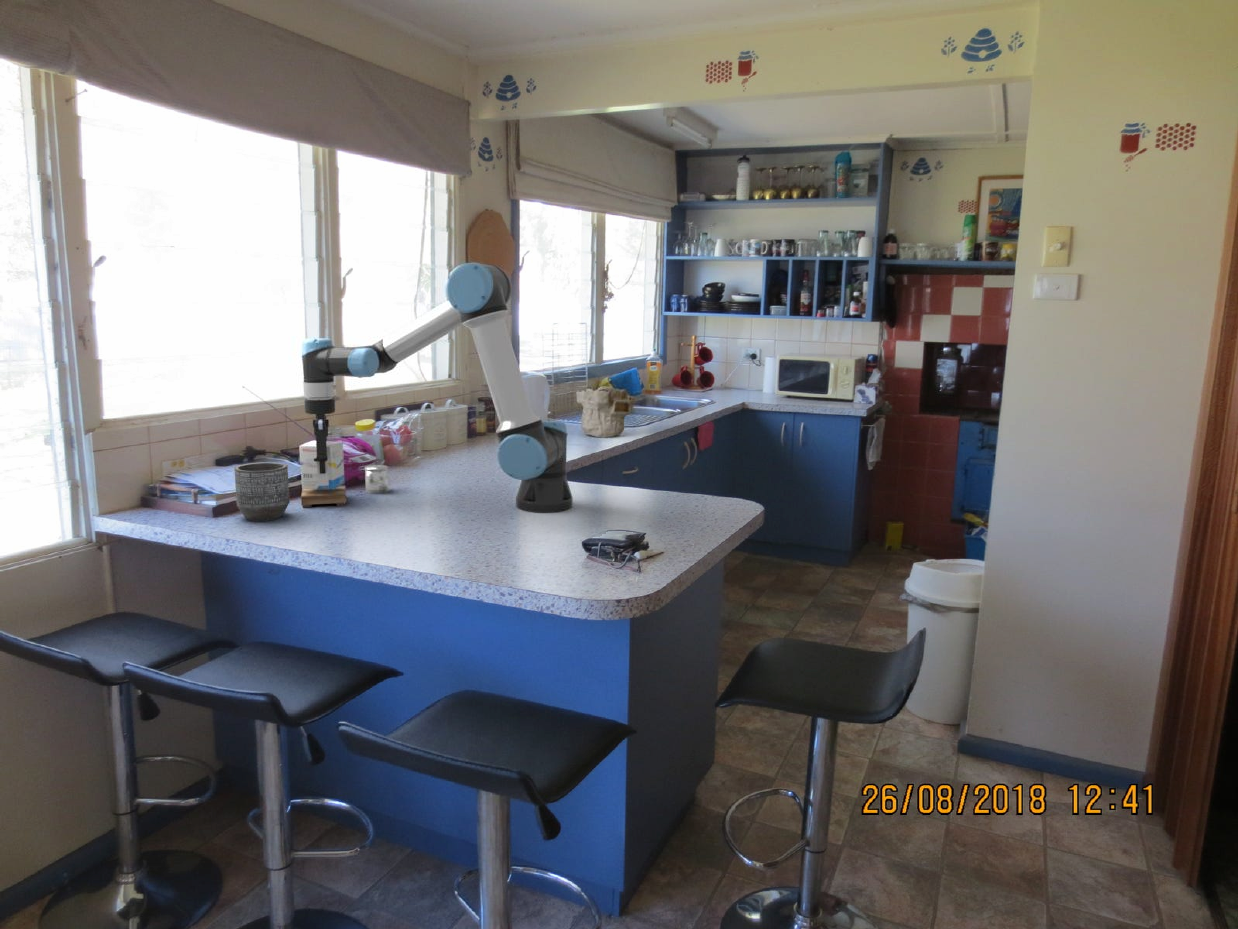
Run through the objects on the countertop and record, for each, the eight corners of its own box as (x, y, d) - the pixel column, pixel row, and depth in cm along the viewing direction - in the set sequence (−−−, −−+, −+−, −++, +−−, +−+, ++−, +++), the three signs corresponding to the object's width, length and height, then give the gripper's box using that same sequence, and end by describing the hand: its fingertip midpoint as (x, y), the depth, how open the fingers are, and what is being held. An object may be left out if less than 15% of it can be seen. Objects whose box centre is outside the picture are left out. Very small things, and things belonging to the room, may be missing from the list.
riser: (346, 505, 227) (345, 494, 226) (301, 507, 223) (301, 496, 223) (345, 496, 237) (345, 485, 236) (303, 498, 234) (302, 487, 233)
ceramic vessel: (601, 408, 373) (626, 365, 358) (628, 449, 362) (655, 406, 347) (559, 410, 359) (583, 366, 344) (586, 453, 347) (612, 409, 332)
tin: (388, 493, 242) (388, 468, 240) (365, 494, 240) (364, 469, 239) (387, 488, 248) (386, 464, 246) (365, 489, 246) (364, 465, 244)
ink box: (345, 483, 233) (343, 440, 231) (332, 490, 225) (330, 445, 223) (315, 482, 234) (313, 439, 232) (300, 488, 226) (298, 444, 223)
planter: (300, 515, 216) (298, 465, 213) (259, 525, 206) (255, 473, 203) (269, 508, 222) (266, 460, 219) (226, 518, 212) (223, 467, 209)
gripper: (334, 402, 215) (338, 489, 220) (334, 393, 237) (338, 472, 241) (302, 403, 213) (307, 490, 217) (305, 393, 234) (309, 473, 239)
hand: (323, 481), depth 229 cm, fingers closed on ink box, 10 cm apart
